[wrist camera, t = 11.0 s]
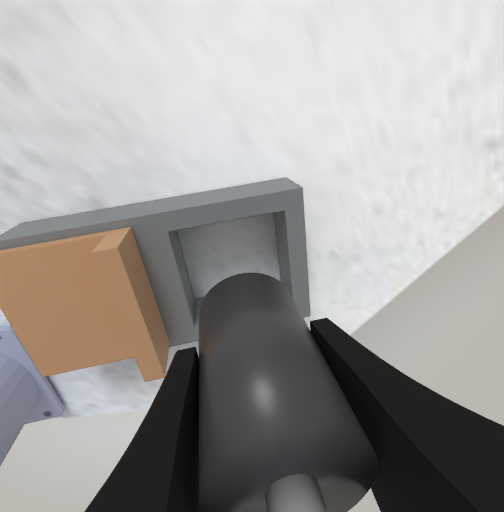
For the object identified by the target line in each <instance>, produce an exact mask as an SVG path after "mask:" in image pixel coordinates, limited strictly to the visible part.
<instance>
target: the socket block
mask: <svg viewBox="0 0 504 512" xmlns="http://www.w3.org/2000/svg"><path fill="white" fill-rule="evenodd" d="M273 212H274V221H275V231H276V240H277V249H278V258H279V268H280V277H281V283H282V284H283V285H284V286H285V287H286V288H287V289H288V291H289V293H290V294H291V296H292V298H293V300H294V302H295V304H296V305H297V307H298V309H299V311H300V313H301V315H302V317H303V318H304V317H309V316H310V301H309V284H308V268H307V252H306V235H305V219H304V202H303V187H301V186H299V185H298V184H296V183H295V182H293V181H291V180H290V179H288V178H281V179H275V180H269V181H263V182H258V183H252V184H246V185H240V186H234V187H229V188H223V189H217V190H211V191H205V192H200V193H194V194H188V195H182V196H177V197H171V198H165V199H159V200H153V201H148V202H142V203H136V204H130V205H124V206H119V207H113V208H107V209H101V210H95V211H90V212H84V213H78V214H72V215H66V216H61V217H55V218H49V219H43V220H38V221H32V222H26V223H21V224H19V225H17V226H15V227H14V228H12V229H10V230H8V231H6V232H5V233H3V234H1V235H0V250H5V249H10V248H16V247H21V246H27V245H32V244H38V243H44V242H49V241H55V240H60V239H66V238H71V237H77V236H83V235H88V234H94V233H99V232H105V231H110V230H116V229H122V228H127V227H131V228H132V231H133V234H134V237H135V240H136V243H137V246H138V249H139V252H140V255H141V258H142V261H143V264H144V267H145V270H146V273H147V276H148V279H149V282H150V285H151V288H152V291H153V294H154V297H155V300H156V303H157V306H158V309H159V312H160V315H161V318H162V321H163V324H164V327H165V330H166V333H167V336H168V339H169V342H170V343H169V347H171V346H176V345H181V344H185V343H190V342H194V341H199V310H200V306H201V304H202V301H203V300H204V298H200V299H195V298H194V295H193V291H192V287H191V283H190V280H189V276H188V272H187V268H186V264H185V261H184V257H183V253H182V249H181V245H180V242H179V238H178V234H177V230H180V229H185V228H191V227H196V226H202V225H207V224H213V223H218V222H223V221H229V220H234V219H240V218H245V217H251V216H256V215H262V214H267V213H273Z"/></svg>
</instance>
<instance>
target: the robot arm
mask: <svg viewBox="0 0 504 512" xmlns="http://www.w3.org/2000/svg"><path fill="white" fill-rule="evenodd" d="M310 329H311V333H312V335H313V337H314V339H315V341H316V343H317V345H318V347H319V348H320V350H321V352H322V354H323V356H324V358H325V360H326V361H327V363H328V365H329V367H330V369H331V371H332V373H333V375H334V376H335V378H336V380H337V382H338V384H339V386H340V388H341V389H342V391H343V393H344V395H345V397H346V399H347V401H348V402H349V404H350V406H351V408H352V410H353V412H354V414H355V416H356V417H357V419H358V421H359V423H360V425H361V427H362V429H363V430H364V432H365V434H366V436H367V438H368V440H369V442H370V444H371V445H372V447H373V449H374V451H375V453H376V456H377V460H378V469H377V474H376V477H375V480H374V482H373V484H372V486H371V489H372V492H373V494H374V497H375V499H376V501H377V504H378V506H379V509H380V511H381V512H504V426H503V425H501V424H498V423H496V422H493V421H492V420H489V419H487V418H485V417H483V416H481V415H479V414H477V413H475V412H473V411H471V410H469V409H467V408H465V407H462V406H460V405H459V404H457V403H454V402H452V401H451V400H449V399H447V398H445V397H443V396H441V395H439V394H438V393H436V392H434V391H432V390H430V389H429V388H427V387H425V386H423V385H422V384H420V383H418V382H416V381H415V380H413V379H411V378H410V377H408V376H407V375H405V374H403V373H402V372H400V371H399V370H397V369H396V368H394V367H393V366H391V365H390V364H388V363H387V362H385V361H384V360H382V359H381V358H379V357H378V356H377V355H375V354H374V353H372V352H371V351H370V350H368V349H367V348H365V347H364V346H363V345H361V344H360V343H359V342H357V341H356V340H355V339H353V338H352V337H351V336H350V335H348V334H347V333H346V332H344V331H343V330H342V329H341V328H339V327H338V326H337V325H335V324H334V323H333V322H332V321H330V320H329V319H328V318H323V319H319V320H314V321H310ZM0 336H1V337H0V465H1V464H2V462H3V460H4V459H5V457H6V455H7V453H8V451H9V450H10V448H11V446H12V444H13V443H14V441H15V440H16V438H17V436H18V434H19V433H20V431H21V429H22V427H23V426H24V424H27V423H31V422H36V421H40V420H44V419H49V418H53V417H57V416H60V415H61V414H62V413H63V411H64V406H63V404H62V402H61V401H60V399H59V398H58V396H57V394H56V393H55V391H54V389H53V388H52V386H51V385H50V383H49V381H48V380H47V378H46V377H43V376H42V375H41V373H40V371H39V370H38V368H37V367H36V365H35V363H34V362H33V360H32V359H31V357H30V355H29V354H28V352H27V350H26V349H25V347H24V346H23V344H22V342H21V341H20V339H19V338H18V336H17V334H16V333H15V331H14V329H13V328H12V327H9V326H7V327H1V328H0ZM85 512H199V358H198V354H197V351H196V347H192V348H187V349H183V350H178V351H177V352H176V353H175V355H174V358H173V360H172V363H171V365H170V367H169V370H168V372H167V374H166V376H165V378H164V381H163V383H162V385H161V387H160V389H159V391H158V393H157V395H156V397H155V399H154V401H153V403H152V405H151V407H150V409H149V411H148V413H147V415H146V416H145V418H144V420H143V422H142V424H141V425H140V427H139V429H138V431H137V433H136V434H135V436H134V438H133V439H132V441H131V443H130V444H129V446H128V448H127V450H126V451H125V453H124V454H123V456H122V457H121V459H120V461H119V462H118V464H117V465H116V467H115V468H114V470H113V471H112V473H111V474H110V476H109V477H108V479H107V481H106V482H105V483H104V485H103V486H102V488H101V489H100V490H99V492H98V493H97V495H96V496H95V498H94V499H93V501H92V502H91V504H90V505H89V506H88V508H87V509H86V510H85Z"/></svg>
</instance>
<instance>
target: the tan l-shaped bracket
mask: <svg viewBox="0 0 504 512" xmlns="http://www.w3.org/2000/svg"><path fill="white" fill-rule="evenodd" d="M0 308H1V310H2V312H3V313H4V315H5V317H6V318H7V320H8V321H9V323H10V325H11V326H12V328H13V329H14V331H15V333H16V334H17V336H18V338H19V339H20V341H21V342H22V344H23V346H24V347H25V349H26V350H27V352H28V354H29V355H30V357H31V359H32V360H33V362H34V363H35V365H36V367H37V368H38V370H39V371H40V373H41V375H42V376H43V377H46V376H51V375H55V374H60V373H64V372H69V371H74V370H78V369H83V368H87V367H92V366H96V365H101V364H105V363H110V362H115V361H119V360H124V359H128V358H133V357H135V359H136V362H137V364H138V366H139V369H140V371H141V374H142V376H143V379H144V381H145V382H147V381H151V380H155V379H160V378H164V377H165V373H166V366H167V358H168V351H169V343H170V342H169V339H168V336H167V333H166V330H165V327H164V324H163V321H162V318H161V315H160V312H159V309H158V306H157V303H156V300H155V297H154V294H153V291H152V288H151V285H150V282H149V279H148V276H147V273H146V270H145V267H144V264H143V261H142V258H141V255H140V252H139V249H138V246H137V243H136V240H135V237H134V234H133V231H132V228H131V227H127V228H122V229H116V230H110V231H105V232H99V233H94V234H88V235H83V236H77V237H71V238H66V239H60V240H55V241H49V242H44V243H38V244H32V245H27V246H21V247H16V248H10V249H5V250H0Z"/></svg>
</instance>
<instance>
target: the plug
mask: <svg viewBox="0 0 504 512" xmlns="http://www.w3.org/2000/svg"><path fill="white" fill-rule="evenodd" d="M377 469H378V460H377V456H376V453H375V451H374V449H373V447H372V445H371V444H370V442H369V440H368V438H367V436H366V434H365V432H364V430H363V429H362V427H361V425H360V423H359V421H358V419H357V417H356V416H355V414H354V412H353V410H352V408H351V406H350V404H349V402H348V401H347V399H346V397H345V395H344V393H343V391H342V389H341V388H340V386H339V384H338V382H337V380H336V378H335V376H334V375H333V373H332V371H331V369H330V367H329V365H328V363H327V361H326V360H325V358H324V356H323V354H322V352H321V350H320V348H319V347H318V345H317V343H316V341H315V339H314V337H313V335H312V333H311V332H310V330H309V328H308V326H307V324H306V322H305V320H304V319H303V317H302V315H301V313H300V311H299V309H298V307H297V305H296V304H295V302H294V300H293V298H292V296H291V294H290V293H289V291H288V289H287V288H286V287H285V286H284V285H283V284H282V283H281V282H280V281H278V280H277V279H275V278H273V277H271V276H268V275H265V274H260V273H242V274H237V275H234V276H231V277H229V278H226V279H224V280H223V281H221V282H219V283H218V284H217V285H215V286H214V287H213V288H212V289H211V290H210V291H209V292H208V293H207V295H206V296H205V298H204V300H203V301H202V304H201V306H200V310H199V512H347V511H349V510H350V509H351V508H352V507H353V506H355V505H356V504H357V503H358V502H359V501H360V500H361V499H362V498H363V497H364V496H365V494H366V493H367V492H368V490H369V489H370V487H371V486H372V484H373V482H374V480H375V477H376V474H377Z"/></svg>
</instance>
